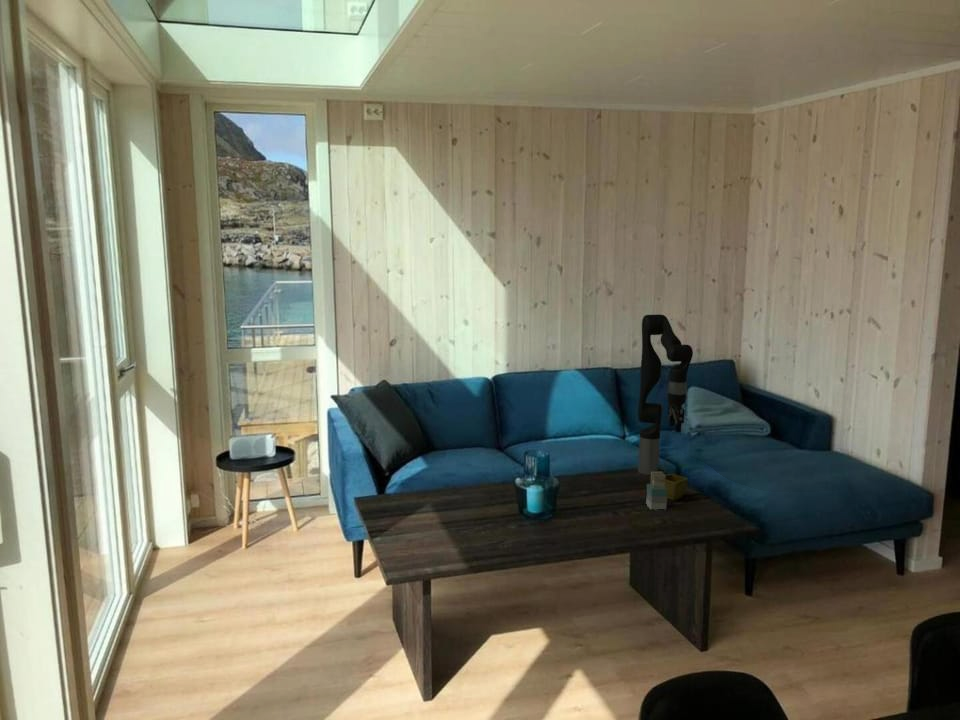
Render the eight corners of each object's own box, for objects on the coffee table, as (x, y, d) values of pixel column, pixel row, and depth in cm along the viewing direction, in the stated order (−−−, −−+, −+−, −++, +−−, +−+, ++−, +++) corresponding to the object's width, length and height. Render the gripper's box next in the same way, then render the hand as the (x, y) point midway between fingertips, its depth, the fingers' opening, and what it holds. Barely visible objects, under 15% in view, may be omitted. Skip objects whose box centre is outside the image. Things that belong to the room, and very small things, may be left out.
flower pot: (674, 503, 322) (675, 482, 320) (657, 497, 328) (658, 477, 327) (686, 498, 327) (688, 478, 326) (669, 493, 334) (671, 473, 332)
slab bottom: (646, 504, 320) (646, 497, 320) (661, 504, 321) (661, 497, 320) (650, 510, 314) (651, 503, 313) (666, 509, 314) (666, 502, 314)
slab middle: (646, 497, 319) (647, 490, 319) (661, 497, 320) (662, 490, 320) (651, 503, 313) (652, 496, 313) (666, 502, 314) (667, 495, 313)
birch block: (650, 484, 318) (651, 471, 317) (661, 484, 318) (662, 471, 317) (653, 488, 313) (654, 475, 312) (664, 488, 314) (665, 475, 313)
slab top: (646, 490, 319) (647, 484, 318) (661, 490, 319) (662, 483, 319) (651, 496, 313) (651, 489, 312) (666, 496, 313) (667, 489, 313)
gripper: (663, 387, 328) (661, 424, 331) (673, 395, 314) (671, 434, 317) (680, 387, 328) (678, 424, 332) (691, 395, 314) (689, 433, 318)
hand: (674, 428), depth 324 cm, fingers open, 8 cm apart
